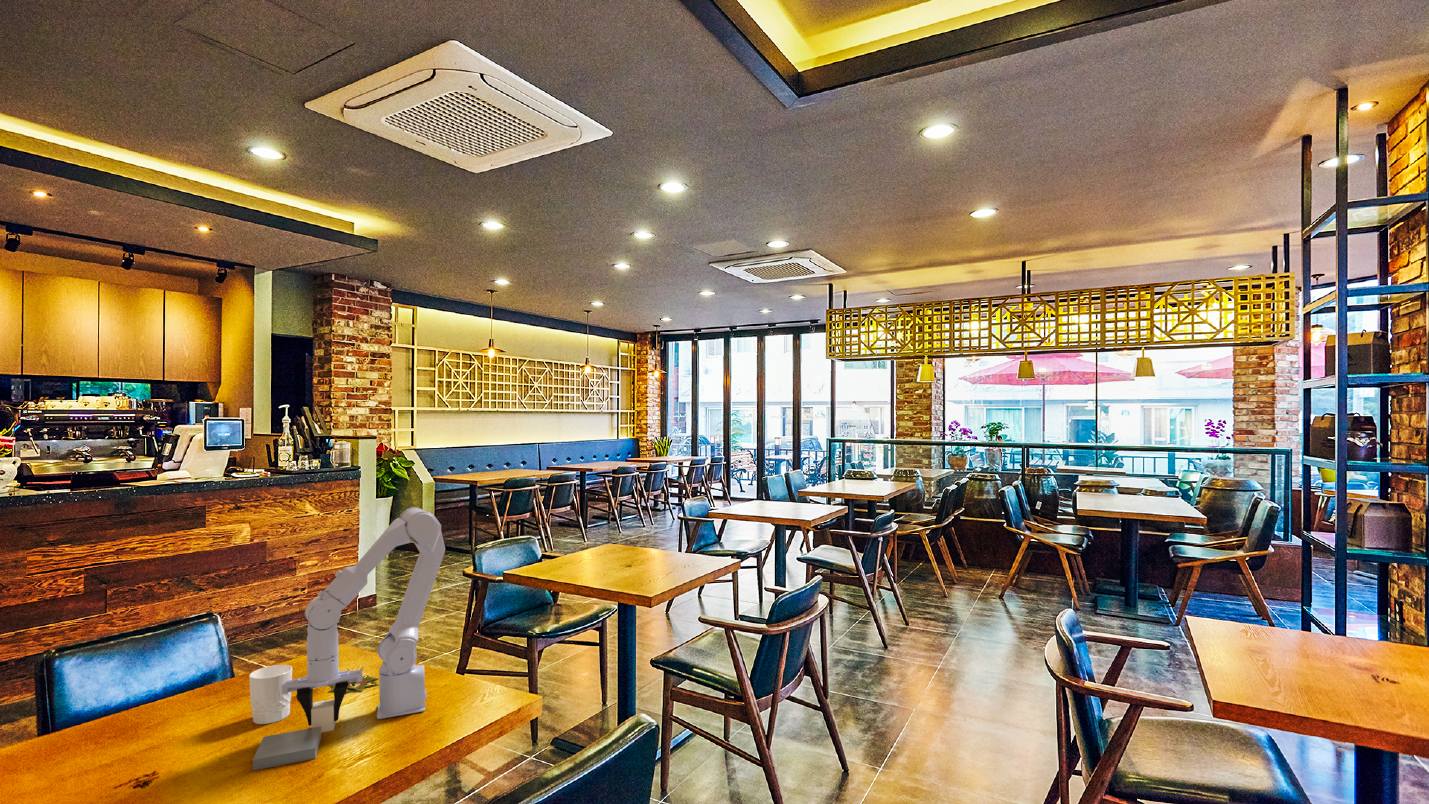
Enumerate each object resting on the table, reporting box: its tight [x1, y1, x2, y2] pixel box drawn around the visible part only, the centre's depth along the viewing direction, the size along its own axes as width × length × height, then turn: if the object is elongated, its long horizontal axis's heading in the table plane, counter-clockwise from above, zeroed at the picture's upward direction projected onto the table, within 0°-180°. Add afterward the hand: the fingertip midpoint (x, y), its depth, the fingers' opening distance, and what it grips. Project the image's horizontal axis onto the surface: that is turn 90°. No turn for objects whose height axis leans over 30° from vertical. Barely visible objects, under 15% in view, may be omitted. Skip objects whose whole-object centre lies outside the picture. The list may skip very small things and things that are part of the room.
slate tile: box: [252, 727, 323, 771], centre depth 133 cm, size 10×10×2 cm
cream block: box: [310, 698, 337, 733], centre depth 144 cm, size 4×4×5 cm
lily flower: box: [327, 665, 379, 693], centre depth 166 cm, size 12×12×5 cm
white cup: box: [248, 664, 293, 725], centre depth 149 cm, size 8×8×10 cm
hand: (323, 721), depth 144 cm, fingers closed on cream block, 4 cm apart
